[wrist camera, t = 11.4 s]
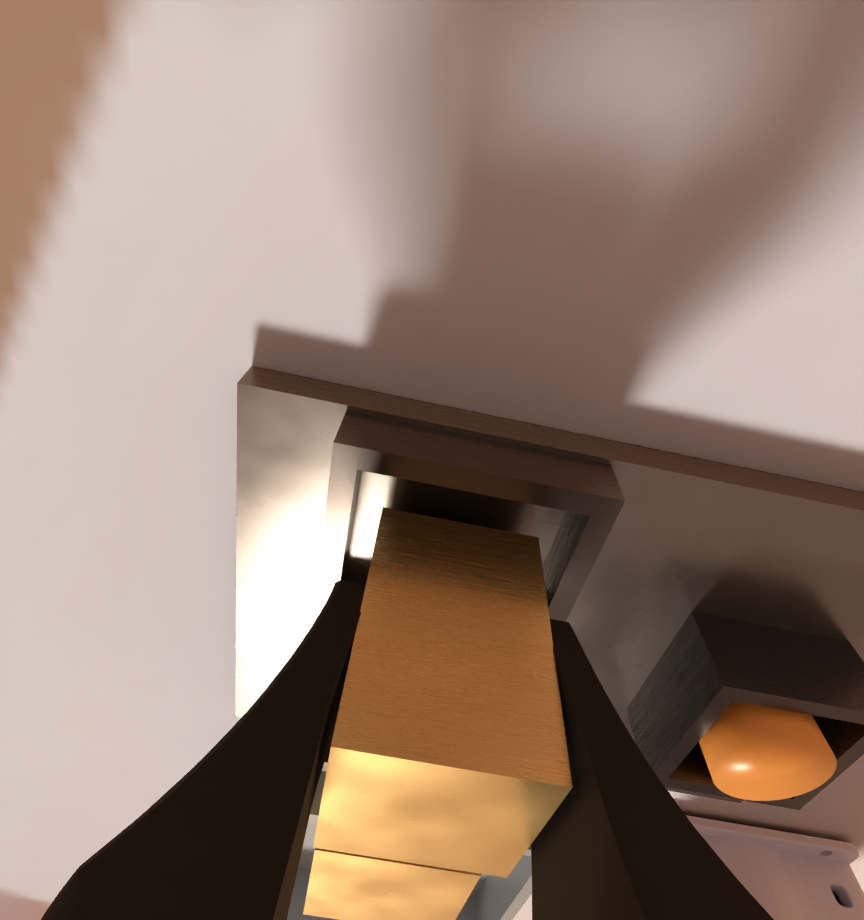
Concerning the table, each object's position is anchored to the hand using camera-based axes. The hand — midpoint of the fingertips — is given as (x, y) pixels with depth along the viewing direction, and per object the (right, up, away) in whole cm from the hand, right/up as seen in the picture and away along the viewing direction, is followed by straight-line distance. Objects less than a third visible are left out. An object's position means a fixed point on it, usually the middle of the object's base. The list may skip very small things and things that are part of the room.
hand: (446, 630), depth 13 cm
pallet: (+4, -1, +6) cm, 7 cm away
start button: (+9, -3, +5) cm, 11 cm away
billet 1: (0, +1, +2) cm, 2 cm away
